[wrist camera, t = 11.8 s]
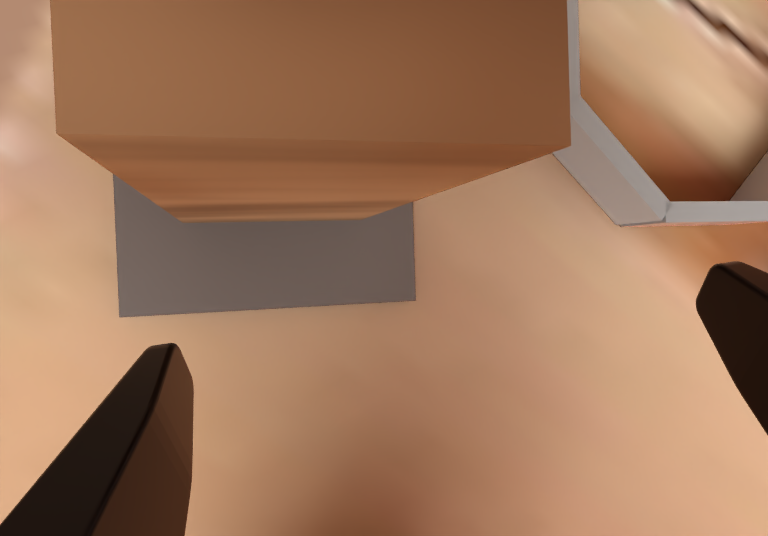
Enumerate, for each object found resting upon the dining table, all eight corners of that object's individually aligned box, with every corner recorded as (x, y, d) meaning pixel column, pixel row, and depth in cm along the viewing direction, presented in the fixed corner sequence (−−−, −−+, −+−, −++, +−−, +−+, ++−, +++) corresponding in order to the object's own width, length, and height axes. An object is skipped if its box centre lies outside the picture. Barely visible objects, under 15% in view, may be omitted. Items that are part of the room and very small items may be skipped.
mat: (411, 299, 20) (415, 300, 20) (122, 315, 17) (119, 317, 17) (401, -21, 20) (405, -28, 19) (107, -53, 17) (102, -62, 17)
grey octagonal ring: (677, 294, 23) (728, 298, 21) (452, 40, 20) (481, 10, 18) (846, 72, 26) (908, 52, 23) (666, -182, 23) (717, -234, 21)
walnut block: (360, 220, 19) (570, 146, 7) (182, 223, 17) (55, 133, 5) (354, 51, 19) (557, -321, 7) (175, 39, 17) (27, -474, 5)
